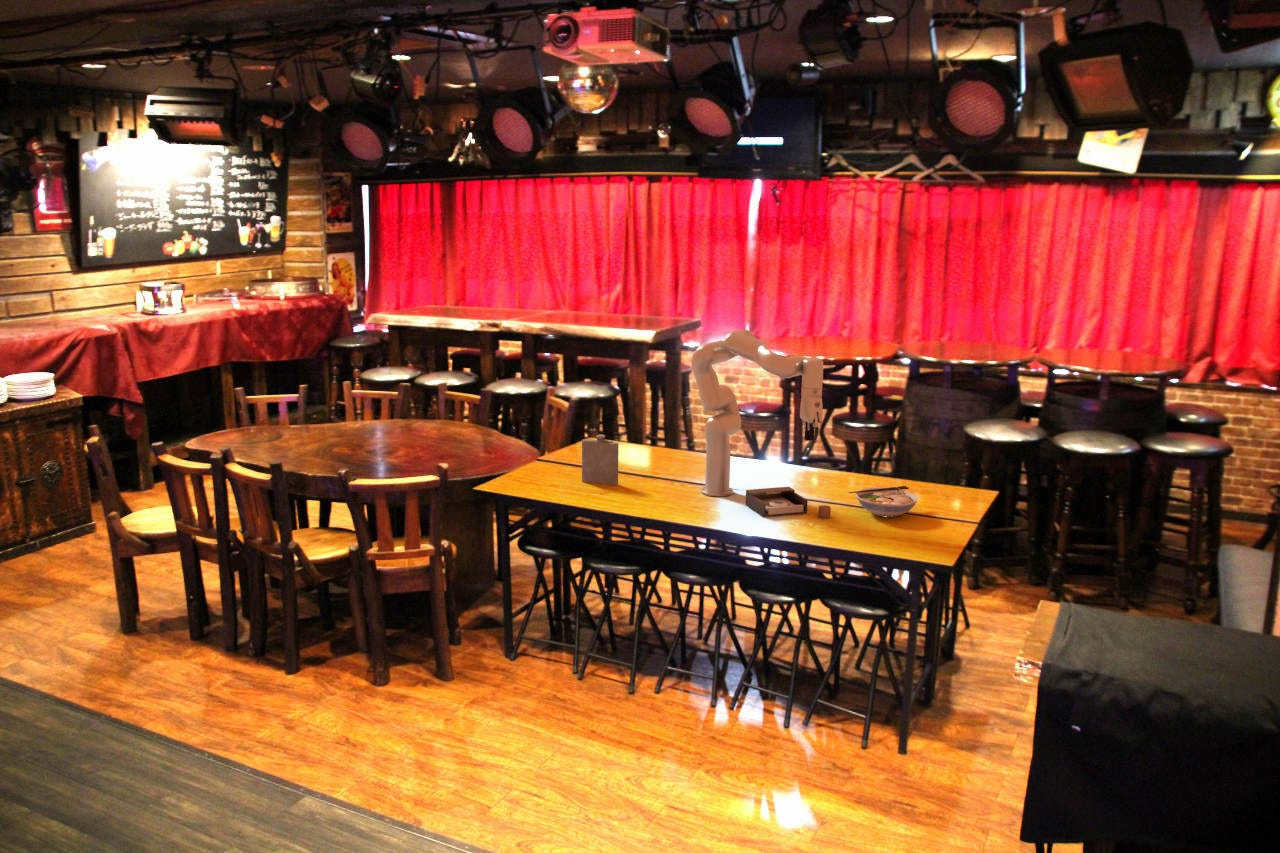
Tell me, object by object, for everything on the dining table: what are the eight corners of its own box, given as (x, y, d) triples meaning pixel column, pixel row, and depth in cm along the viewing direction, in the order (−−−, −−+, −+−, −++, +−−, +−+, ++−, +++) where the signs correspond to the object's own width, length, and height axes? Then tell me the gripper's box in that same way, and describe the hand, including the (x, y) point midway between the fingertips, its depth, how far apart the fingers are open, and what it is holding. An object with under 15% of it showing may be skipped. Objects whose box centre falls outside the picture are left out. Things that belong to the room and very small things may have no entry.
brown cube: (816, 516, 388) (816, 505, 387) (826, 515, 389) (827, 504, 388) (821, 519, 384) (822, 509, 383) (832, 518, 385) (832, 508, 384)
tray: (751, 502, 400) (751, 496, 399) (784, 500, 404) (785, 493, 403) (768, 514, 385) (769, 508, 384) (803, 511, 389) (803, 505, 389)
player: (745, 505, 400) (746, 489, 399) (788, 501, 406) (788, 486, 404) (762, 517, 385) (763, 501, 384) (806, 513, 391) (807, 497, 390)
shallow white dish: (765, 504, 395) (765, 500, 394) (781, 503, 397) (782, 499, 397) (774, 510, 388) (775, 506, 388) (791, 508, 391) (791, 504, 391)
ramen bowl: (870, 526, 377) (871, 504, 375) (841, 508, 398) (842, 487, 396) (931, 521, 384) (933, 500, 382) (899, 503, 405) (901, 483, 403)
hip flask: (580, 481, 429) (580, 434, 425) (584, 479, 433) (584, 432, 429) (616, 486, 424) (616, 438, 419) (620, 483, 427) (620, 436, 423)
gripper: (830, 395, 380) (827, 444, 384) (811, 387, 394) (809, 435, 398) (811, 395, 378) (809, 445, 382) (793, 388, 392) (791, 436, 396)
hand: (809, 440), depth 390 cm, fingers closed
